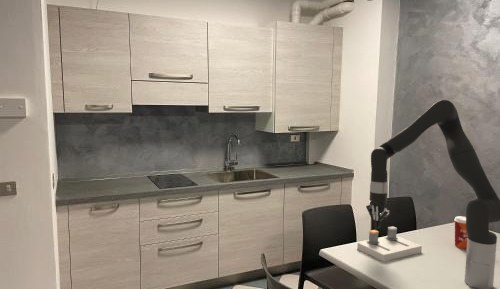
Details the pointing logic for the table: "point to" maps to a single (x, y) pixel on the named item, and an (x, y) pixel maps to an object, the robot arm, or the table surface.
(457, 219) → the paper cup
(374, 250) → the switch box
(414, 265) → the table surface
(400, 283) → the table surface
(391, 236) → the on lever
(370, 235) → the orange and grey block
